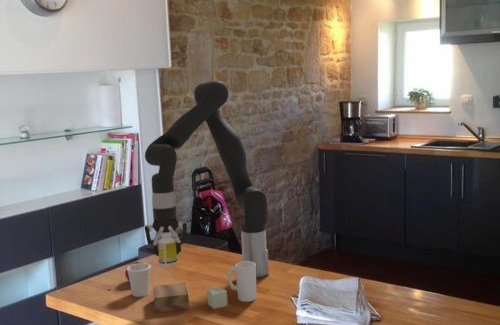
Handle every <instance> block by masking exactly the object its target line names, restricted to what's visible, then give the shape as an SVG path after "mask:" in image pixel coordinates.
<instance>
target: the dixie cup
mask: <svg viewBox="0 0 500 325" xmlns="http://www.w3.org/2000/svg"><path fill="white" fill-rule="evenodd" d="M129 265H130V264H129ZM151 267H152V266H151V264H149V263H147V262H146V263H145V262H142V263H137V264H133V265H130V266H128V265H127V267H126V268H127V271H128V275H129V280H130V281H129V280H128V281H129V284H130V288H131V293H132V296H133V297H136V298H141V297H142V298H143V297H145V296H148V295H149V294H150V276H151V275H150V274H151Z"/></svg>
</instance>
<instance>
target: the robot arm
mask: <svg viewBox="0 0 500 325" xmlns="http://www.w3.org/2000/svg"><path fill="white" fill-rule="evenodd" d="M193 95H194V100H195V103H196V105H194V107H192V108H190V109H189V110H188V111H186V112H185V113H184V114H182V115H181V116H180V117H179V118H177V120H176V121H174V123H173V124H172V125H171V126H170V127H169V128H168V130H167V131H166V132H165V133H162V135H160V136H159V137H157V138H156V139H155V140H154V141H152V142H151V143H150V144H149V145H148V146H147V148H146V150H145V152H144V158H145V161H146V163H147V164H149V165H151V166H155V167H159V168H158V172H157V173H154V174H152V177H151V191H152V192H151V193H152V197H151V204H152V217H153V223H152V224H145V225H144V233H145V237H146V241H147V242H146V243H147V245H152V246H153V254H154V255H155V256H156V257H158V245H157V242H158V240H159V238H160V236H161V233H164V232H171V234H172V235H173V237H174V238H175V240H176V246H177V255H179V254H180V252H182V246H181V245H182V242H184V241H186V240H187V225H188V224H187V222H186V221H178V220H177V218H178V217H177V216H178V215H177V201H176V196H175V195H176V193H175V185H174V184H175V183H174V177H175V172H176V166H177V162H178V161H177V160H178V157H177V156H178V155H177V152H176V149H177V150H178V149H180V148H182V147H183V146H184V145H185V144H186V143H187V142H188V140H189V139H190V138H191V136H192V135H193V134H194V133H195V132H196V130H197V129H198V128H199V127H200V126H201V125H203V123H204V122H205V123H206V124H207V127H208V130H209V132H210V134H211V137H212V139H213V142H214V144H215V146H216V147H215V148H216V149H217V152H218V154H219V157H220V160H221V161H222V164H223V166H224V169H225V171H226V174H227V176H228V177H229V180H230V183H231V186H232V190H233V193H234V198H235V200H236V204H237V206H238V207H239V208H240V209H241V210H242V211H244V220H242V222H241V224H240V231H241V232H240V233H241V234H240V235H241V236H240V237H241V250H242V251H241V253H242V254H241V255H242V256H241V257H242V262H243V261H250V262H254V263H255V264H256V265H255V266H256V279H257V278H261V277H262V278H263V277H265V276H269V275H270V268H269V251H268V249H267V234H266V231H267V230H266V226H267V222H268V199H267V195H266V194H265V192H264V191H263V190H260V189H259V188H256V187H255V186H254V185H253V183H252V181H251V179H250V176H249V174H248V173H249V172H248V169H247V153H246V150H245V147H244V145H243V142H242V139H241V138H240V135H239V134H238V133H237V131H236V130H235V129H234V128H233V127H232V126H231V125H230V124H229V123H228V122H227V121H226V120H225V119H224V117H223V115H222V113H221V111H220V108H221V107H223V106H224V105H225V104H226V103H227V101H228V99H229V89H228V87H227V84H226V83H224V82H222V81H221V80H211V81H207V82H203V83H202V82H201V83H200V84H198V85H197V86H196V87H195V88H194V94H193ZM178 227H179V228H180V230H181V236H179V235H178V233H177V232H176V229H178ZM152 230H154V231H155V232H156V233H155V236H154V238H153V239H152V238H151V234H150V233H151V232H152Z"/></svg>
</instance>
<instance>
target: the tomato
mask: <svg viewBox="0 0 500 325" xmlns="http://www.w3.org/2000/svg"><path fill="white" fill-rule="evenodd" d="M137 263H143V262H141V261H135V262H131V263H129V264H128V265H127V267H128V266H130V265H133V264H137ZM127 267H126V269H125V272H124V274H125V277H126V279H127V281H128V282H130V280H129V275H128V271H127Z"/></svg>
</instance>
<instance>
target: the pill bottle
mask: <svg viewBox="0 0 500 325" xmlns="http://www.w3.org/2000/svg"><path fill="white" fill-rule="evenodd" d="M176 242H177V241H176V240H175V238H174V237H173V235H172V234H171V232H164V233H161V236H160V238H159V240H158V242H157V245H158V256H157V257H158V264H159V266H162V267H171V266H174V265H177V263H178V261H179V260H178V254H177V246H176Z"/></svg>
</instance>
